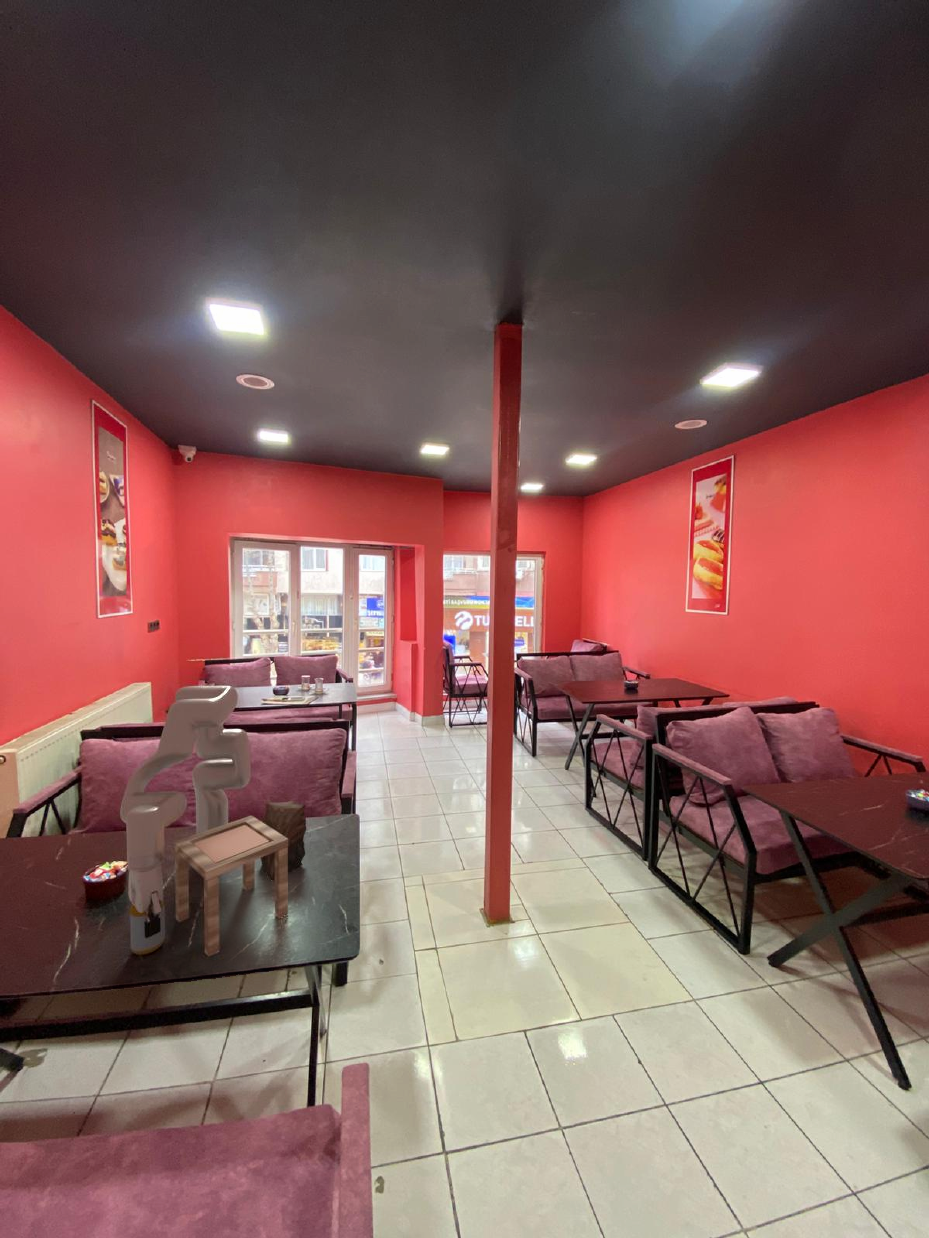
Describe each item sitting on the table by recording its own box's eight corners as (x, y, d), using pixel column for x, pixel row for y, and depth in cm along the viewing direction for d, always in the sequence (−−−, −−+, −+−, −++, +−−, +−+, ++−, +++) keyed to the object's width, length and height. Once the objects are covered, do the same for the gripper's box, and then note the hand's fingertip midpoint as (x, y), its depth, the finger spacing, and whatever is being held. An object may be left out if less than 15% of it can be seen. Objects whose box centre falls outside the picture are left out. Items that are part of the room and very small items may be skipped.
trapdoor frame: (174, 918, 128) (173, 842, 127) (251, 883, 144) (251, 815, 143) (207, 957, 114) (206, 872, 113) (288, 914, 130) (288, 838, 129)
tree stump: (257, 863, 155) (257, 803, 154) (296, 850, 163) (296, 793, 162) (269, 881, 145) (269, 817, 144) (310, 867, 153) (310, 806, 152)
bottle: (171, 939, 119) (170, 881, 118) (145, 959, 112) (143, 898, 112) (151, 932, 121) (150, 875, 120) (123, 951, 115) (122, 891, 114)
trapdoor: (192, 846, 128) (192, 842, 128) (244, 827, 138) (244, 824, 138) (215, 866, 118) (215, 862, 118) (269, 844, 129) (269, 841, 129)
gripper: (117, 850, 118) (118, 919, 119) (139, 877, 107) (141, 954, 108) (151, 838, 124) (153, 905, 125) (176, 863, 113) (178, 936, 114)
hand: (147, 927), depth 117 cm, fingers closed on bottle, 6 cm apart
